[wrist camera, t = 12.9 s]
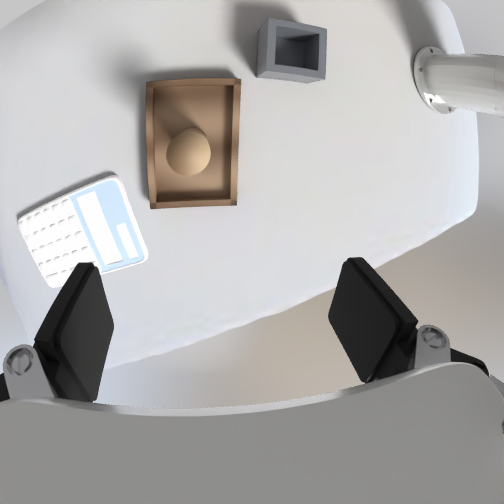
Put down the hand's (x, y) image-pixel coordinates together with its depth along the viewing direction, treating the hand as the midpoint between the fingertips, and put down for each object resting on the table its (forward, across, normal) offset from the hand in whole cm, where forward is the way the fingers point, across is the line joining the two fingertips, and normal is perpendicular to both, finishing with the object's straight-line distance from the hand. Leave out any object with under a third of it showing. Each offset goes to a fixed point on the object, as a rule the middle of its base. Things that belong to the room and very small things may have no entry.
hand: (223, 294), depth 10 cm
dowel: (+26, +2, -3) cm, 26 cm away
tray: (+27, +2, -3) cm, 27 cm away
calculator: (+27, +20, +10) cm, 35 cm away
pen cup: (+27, -8, -15) cm, 32 cm away
